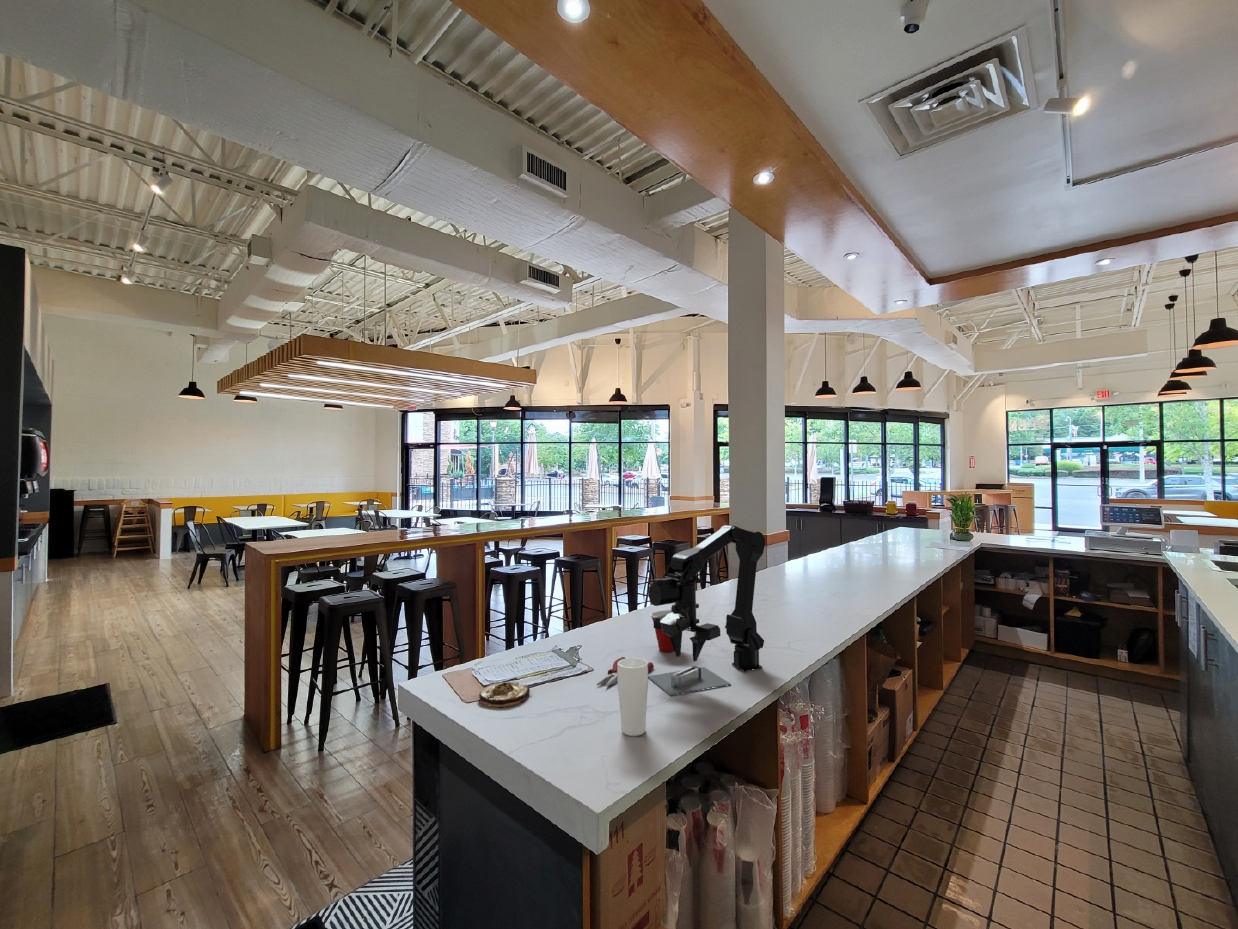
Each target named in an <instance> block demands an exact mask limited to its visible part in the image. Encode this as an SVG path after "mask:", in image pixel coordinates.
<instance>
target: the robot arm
mask: <svg viewBox="0 0 1238 929" xmlns="http://www.w3.org/2000/svg"><path fill="white" fill-rule="evenodd" d="M730 543H734V544H735V552H736V554H737V558H739V559H738V560H739V564H738V574H737V582H736V595H735V603H734V604H735V605H734V610H732V612H731V614H727V615H726V617H725V619H726V620H725V621H726V622H725V625H724V629H725V632H726V635H727V636H728V638H729V641H730V644H733V645H734V650H733V662H732V663H731V665H732V666H734V667H735V668H737V669H739V670H741V671H742V670H743V671H742V672H748V671H749V670H750V671H753V670H752V669H756V670H761V669H763V666H762V665H760V650H761V649H763V648H764V644H765V640H764V638H763V637H762V636H761V635H760V634H759V632H757V630H758V629H757V621H756V618H755V616H754V613H753V606H754V595H755V588H756V587H755V586H756V575H757V574H756V573H757V565H758V561H759V560H760V559H761V557H762V556H763V554H764V551H765V547H766V546H765V545H766V537H765V535H764V534H763V533H762V532H761V531H755V530H747V529H743V528H741V527H738V526H737V525H728V524H724V525H723V526H721V527H720V529H717V531H716V532H714V533H712V534H711V535H709V536H708V537H707V538H705V539H704V540H703V541H701V542H700V543H698V544H697V545H695V546H694V547H692V548H687V549H685V550H681V551H679V552H677V553H674V555H672V557H671V558H670V560H671V561H670V563H669V565H668V567H667V568H666V569H665V572H664V574H663V576H662V578H654V579H652V584H651V585H650V586H649V588H648V591H647V594H648V599H649V602H650V603H651V604H652V605H653V606H654V607H659V606H663V605H670V604H672V605H671V608H670V610H671V613H669V614H667V615H662V616H659V617H656V618H655V619H654V621H653V620H652V622H653V629H655V628H656V629H660V630H663V631H662V632H663V633H665V634H666V635H667V636H668V637H669V639H670V641H671V643H672V646H673V649H674V654H675V656H676V657H677V658H679V657H681V652H682V641H683V632H684V631H687V632H691V633H694V634H693V636H691V637H689V640H690V642H691V643H692V660H693V662H694V663H695V662H697V661H698V660H699V657H700V655H701V652H702V649H703V647H704V645H705V643H706V642H707V641H711V640H714V639H717V638H719V637H721V628H720V626H719V625H718V624H713V623H708V622H706V623H703V624H701V625H697V624H699V623H700V619H699V618H697V609H698V608H699V607H700V604H699V603H697V593H696V592H697V591H696V590H697V588H696V585H697V584H701V583H703V580H702V579H701V578H700V577H699V576H698V573H699V572H700V571H701V570H702V569H703V568H704V565H705V563H706V561H708V560H709V559H710V558H711V557H713V556H714V555H715V554H717V553H719V552H720V551H721V550H722V549H723V548H726V546H728V545H730Z"/></svg>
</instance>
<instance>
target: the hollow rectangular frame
mask: <svg viewBox="0 0 1238 929" xmlns="http://www.w3.org/2000/svg"><path fill="white" fill-rule="evenodd" d="M679 671H680V672H677V673H675V674H673V675H671V686H672V688H681V687H683V686H685V685H687V684H690V683H692V682H694V681H696V680H698V679H700V678H701V667H699V666H697V665H692V666H689V667H687V668H684V669H682V670H679Z"/></svg>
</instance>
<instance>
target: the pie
mask: <svg viewBox="0 0 1238 929" xmlns="http://www.w3.org/2000/svg"><path fill="white" fill-rule="evenodd" d="M530 692H531V689H530V687H529V686H528V685H527V684H520V683H519V682H516V681H503V682H501V681H500V680H499V682H495V683H491V684H489V685H487V686H485V687H483V689H482V690H481V691H480V692H479V694H478V697H479V700H480V702H481V703H482V704H483V705H484V704H485V705H484V706H486V705H490V706H491V707H496V708H497V709H504V707H505V708H510V706H511V707H515V706H517V705H519V704H522V703H524V702H525V701H526V699H527V698H529V697H530V698H532V695H530ZM514 705H515V706H514ZM491 707H490V708H491ZM496 708H495V709H496Z"/></svg>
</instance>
